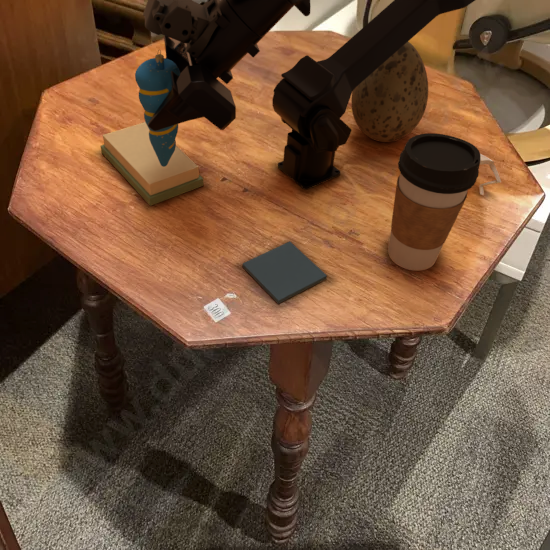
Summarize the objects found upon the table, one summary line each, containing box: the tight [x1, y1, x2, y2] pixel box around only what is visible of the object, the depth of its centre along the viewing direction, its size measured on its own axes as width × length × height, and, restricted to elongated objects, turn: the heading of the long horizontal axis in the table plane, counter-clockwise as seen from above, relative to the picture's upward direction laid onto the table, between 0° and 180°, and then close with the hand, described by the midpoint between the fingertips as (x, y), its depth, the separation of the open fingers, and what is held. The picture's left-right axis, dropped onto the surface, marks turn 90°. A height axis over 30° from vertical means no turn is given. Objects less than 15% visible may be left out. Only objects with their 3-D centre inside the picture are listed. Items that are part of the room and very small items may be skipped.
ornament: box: [134, 49, 180, 167], centre depth 70 cm, size 5×5×15 cm
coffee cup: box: [387, 132, 481, 272], centre depth 68 cm, size 8×8×15 cm
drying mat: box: [241, 241, 328, 304], centre depth 70 cm, size 7×7×1 cm
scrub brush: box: [100, 121, 205, 207], centre depth 82 cm, size 8×14×3 cm, turn 37°
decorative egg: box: [350, 41, 429, 143], centre depth 86 cm, size 11×11×15 cm
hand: (149, 116), depth 70 cm, fingers closed on ornament, 5 cm apart
